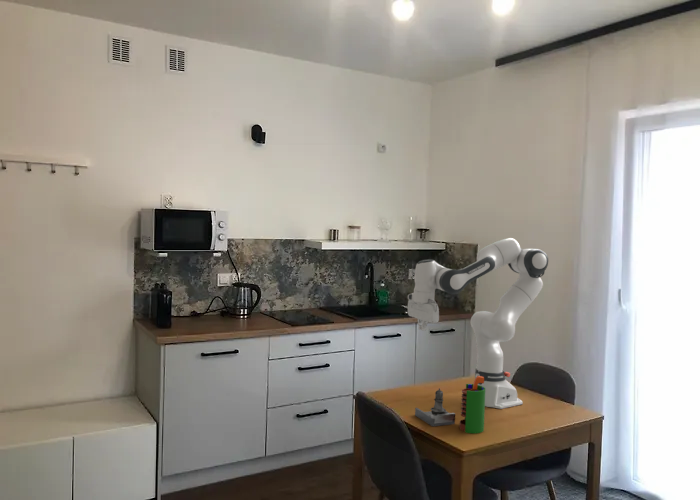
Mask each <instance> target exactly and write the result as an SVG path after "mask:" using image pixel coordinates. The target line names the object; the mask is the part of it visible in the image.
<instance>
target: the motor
mask: <svg viewBox="0 0 700 500" xmlns="http://www.w3.org/2000/svg"><path fill="white" fill-rule="evenodd" d="M473 381H474V382H473V383H465V388H462V389H461V393H462V394H461V403H460V404H461V408H460V409H461V412H460V416H461V417H463V418H464V419H461V420H460V421H459V429H460V430H461V431H463V432H465V433H466V434H480V433H483V432H484V430H485V410H486V409H485V408H486V406H485V387H483V386H480V385H478V383H484V377H482V376H477V377H476V378H475V377H474V380H473Z"/></svg>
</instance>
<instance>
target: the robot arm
mask: <svg viewBox="0 0 700 500" xmlns="http://www.w3.org/2000/svg"><path fill="white" fill-rule="evenodd" d="M506 265H508V267H509V269H510V270H511V271H512V272H513V273H516V274H518V275H519V276H518V278H517V280H516V281H515V282H514V283H513V284H512V285H511V286H510V287H509V288H508V289H507V290H506V291H505V292H504V294H503V295H502V296H500V299H499V305H498V307H497V308H496V310H495V311H494V312H491V311H488V310H481V311H475V313H473V315H472V316H471V318H470V326H471V329H472V331H473V332H474V333H473V334H474V339H475V345H476V368H475V370H474V379H475V378H476V377H477V376H482V377H484V383H478V385H480V386H483V387H485V407H488V408H496V409H502V410H503V409H507V408H510V407H515V406H520V405H523V402H524V401H523V400H521V399H520V398H519V397H518V391H517V389H516V387H515V386H514V385H512V384H511V383H510V382H509V381H508V380H507V378H509V377H511V372H508V371H504V370H503V368H504V352H503V350H502V347H501V345H500V343H501V342H502V343H503V342H509V341H511V340H512V339H513V338H514V337H515V333H516V324H517V322H518V320H519V318H520V316H521V315H522V314H523V313H524V312H525V311H526V310H527V308H528V307H529V306H530V305H531V304H532V303H533V301H534V300H535V299H536V298H537V297H538V295H539V294H540V292H541V291H542V289H543V287H544V282H543V280H542V278H541V277H543V276H544V275H545V271H546V270H547V268H548V266H549V257H548V255H547V253H546V252H545V251H543V250H541V249H540V248H522V247H521V245H520V244H519V242H518V241H517V240H516V239H515V238H512V237H508V238H503V239H501V240H500V239H499V240H497V241H495V242H492V243H490V244H488V245H486V246H484V247H482V248H481V249H479V250H478V252H477V254H476V261H475V262H473V263H471V264H469V265H467V266H466V267H463V268H461V269H460V268H459V269H451V268H448V267H445V266H443V265H441V264H439V263H438V262H437V261H436V260H434V259H422V260H419V261H418V262H417V263H416V264H415V271H414V288H413V292H412V293H409V294H407V299H408V301H407V315H408V316H409V317H411V318H415V319H417V324H418V330H420V331H422V332H425V331H426V330H427V326H428V324H429V323H430V324H437V323H439V321H440V311H439V310H440V308H439V305H438V303H437V302H436V300H435V297H436V296H435V295H436V292H435V291H436V289H438V290H441V291H442V292H445V293H447V294H450V295H457V294H459V293H461V292H462V291H463V290H464V289H465V288H466V287H467V286H468V284H470V283H472V282H473V281H476V280H477V279H479V278H481V277H483V276H485V275H486V274H488V273H489V272H493V271H496V270H498V269H501V268H502V267H504V266H506Z"/></svg>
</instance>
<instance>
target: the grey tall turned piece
mask: <svg viewBox="0 0 700 500" xmlns="http://www.w3.org/2000/svg"><path fill="white" fill-rule="evenodd" d="M434 394H435V397H434V399H433V400H434V406H433V407H430V411H431V412H432V414H433V415H436V414H445V411H447V409H446V408H444V407H443V403H444V399H443V398H444V397H443V396H444V392H443V391H442V390H441V388H438V390H436V391H435V393H434Z"/></svg>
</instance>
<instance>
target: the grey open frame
mask: <svg viewBox="0 0 700 500" xmlns="http://www.w3.org/2000/svg"><path fill="white" fill-rule="evenodd" d="M414 411H415V412H414V413H415V414H414V416H415V417H417V418H418V419H420V420H422V421H423V422H425V423H426V424H428V425H429V426H431V427H438V426H439V427H440V426H448V425H449V426H450V425H455V424H456V413H455V412H449V411H447V410H446V411H445V414H436V415H433V414H432V412H431V410H430V411H424V410H422V409H420V408H418V407H415V409H414Z"/></svg>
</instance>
